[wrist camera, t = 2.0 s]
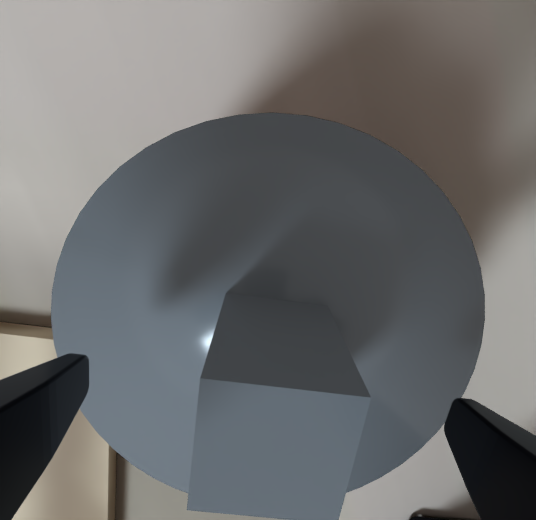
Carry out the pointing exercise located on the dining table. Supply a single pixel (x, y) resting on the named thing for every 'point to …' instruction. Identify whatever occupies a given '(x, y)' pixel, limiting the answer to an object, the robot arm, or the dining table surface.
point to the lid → (269, 312)
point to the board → (62, 445)
